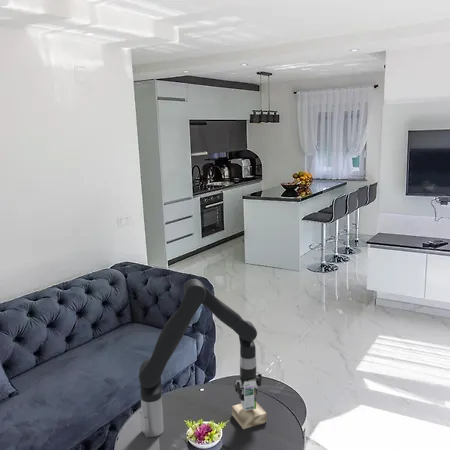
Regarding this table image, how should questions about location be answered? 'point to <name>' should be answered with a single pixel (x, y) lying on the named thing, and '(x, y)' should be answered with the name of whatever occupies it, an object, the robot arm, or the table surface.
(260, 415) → the birch block
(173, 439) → the table surface
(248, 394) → the syrup box
